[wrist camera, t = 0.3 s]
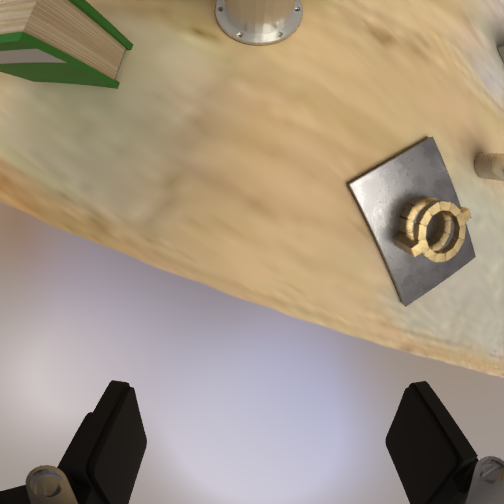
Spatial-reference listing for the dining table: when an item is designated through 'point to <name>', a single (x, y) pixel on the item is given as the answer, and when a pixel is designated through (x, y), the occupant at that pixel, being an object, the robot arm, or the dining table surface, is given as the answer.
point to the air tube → (490, 166)
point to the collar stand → (415, 219)
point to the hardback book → (59, 42)
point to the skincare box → (501, 51)
